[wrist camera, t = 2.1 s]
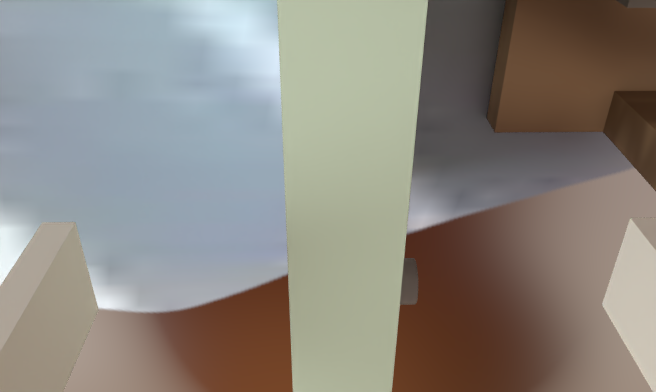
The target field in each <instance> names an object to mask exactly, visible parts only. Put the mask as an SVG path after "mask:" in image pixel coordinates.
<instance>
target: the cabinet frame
mask: <svg viewBox="0 0 656 392" xmlns="http://www.w3.org/2000/svg"><path fill="white" fill-rule="evenodd" d="M487 119H488V121H489V123H490V125H491V127H492V128H493V130H494V132H604V133H605V134H606V136H607V137H608V138H609V139H610V140H611V141H612V142H613V143H614V145H615V146H616V147H617V148H618V149H619V150H620V151H621V152H622V154H623V155H624V156H625V157H626V158H627V159H628V160H629V162H630V163H631V164H632V165H633V166H634V167H635V168H636V169H637V170H638V172H639V173H640V174H641V175H642V176H643V177H644V178H645V180H646V181H647V182H648V183H649V184H650V185H651V186H652V187H653V189H654V190H655V191H656V0H506V2H505V8H504V15H503V21H502V27H501V33H500V39H499V45H498V52H497V58H496V64H495V70H494V76H493V83H492V89H491V95H490V101H489V107H488V113H487Z"/></svg>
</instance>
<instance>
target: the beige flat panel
mask: <svg viewBox="0 0 656 392" xmlns="http://www.w3.org/2000/svg"><path fill="white" fill-rule="evenodd" d="M277 6H278V31H279V56H280V80H281V105H282V130H283V155H284V179H285V204H286V229H287V254H288V278H289V300H290V301H289V303H290V327H291V353H292V377H293V392H392V382H393V370H394V360H395V349H396V339H397V328H398V317H399V307H400V304H416V302H417V298H418V273H417V265H416V261H415V259H413V258H407V259H404V252H405V242H406V232H407V221H408V210H409V199H410V189H411V178H412V167H413V156H414V146H415V135H416V124H417V113H418V103H419V92H420V81H421V70H422V60H423V49H424V38H425V27H426V17H427V6H428V0H277Z"/></svg>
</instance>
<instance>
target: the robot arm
mask: <svg viewBox="0 0 656 392" xmlns="http://www.w3.org/2000/svg"><path fill="white" fill-rule="evenodd" d="M602 306H603V307H604V309H605V311H606V312H607V314H608V316H609V317H610V319H611V321H612V323H613V324H614V326H615V328H616V329H617V331H618V333H619V335H620V336H621V338H622V340H623V341H624V343H625V345H626V347H627V348H628V350H629V352H630V353H631V355H632V357H633V358H634V360H635V362H636V364H637V365H638V367H639V369H640V370H641V372H642V374H643V376H644V377H645V379H646V380H647V382H648V384H649V386H650V387H651V389H652V391H653V392H656V218H630V220H629V223H628V226H627V230H626V233H625V236H624V239H623V242H622V245H621V248H620V251H619V254H618V257H617V260H616V263H615V266H614V269H613V272H612V275H611V279H610V281H609V285H608V288H607V291H606V294H605V297H604V300H603V303H602ZM97 312H98V306H97V302H96V299H95V295H94V291H93V287H92V284H91V280H90V276H89V272H88V268H87V265H86V261H85V257H84V253H83V250H82V246H81V242H80V238H79V235H78V231H77V227H76V223H75V222H54V223H42V224H41V225H40V227H39V228H38V230H37V231H36V233H35V234H34V236H33V237H32V239H31V240H30V242H29V243H28V245H27V247H26V248H25V250H24V251H23V253H22V254H21V256H20V257H19V259H18V260H17V262H16V263H15V265H14V266H13V268H12V269H11V271H10V272H9V274H8V275H7V277H6V278H5V280H4V281H3V283H2V284H1V286H0V392H63V391H64V389H65V387H66V384H67V382H68V380H69V377H70V375H71V373H72V370H73V368H74V365H75V363H76V361H77V359H78V357H79V354H80V352H81V350H82V347H83V345H84V342H85V340H86V338H87V336H88V333H89V331H90V329H91V326H92V324H93V322H94V319H95V317H96V315H97Z"/></svg>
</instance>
